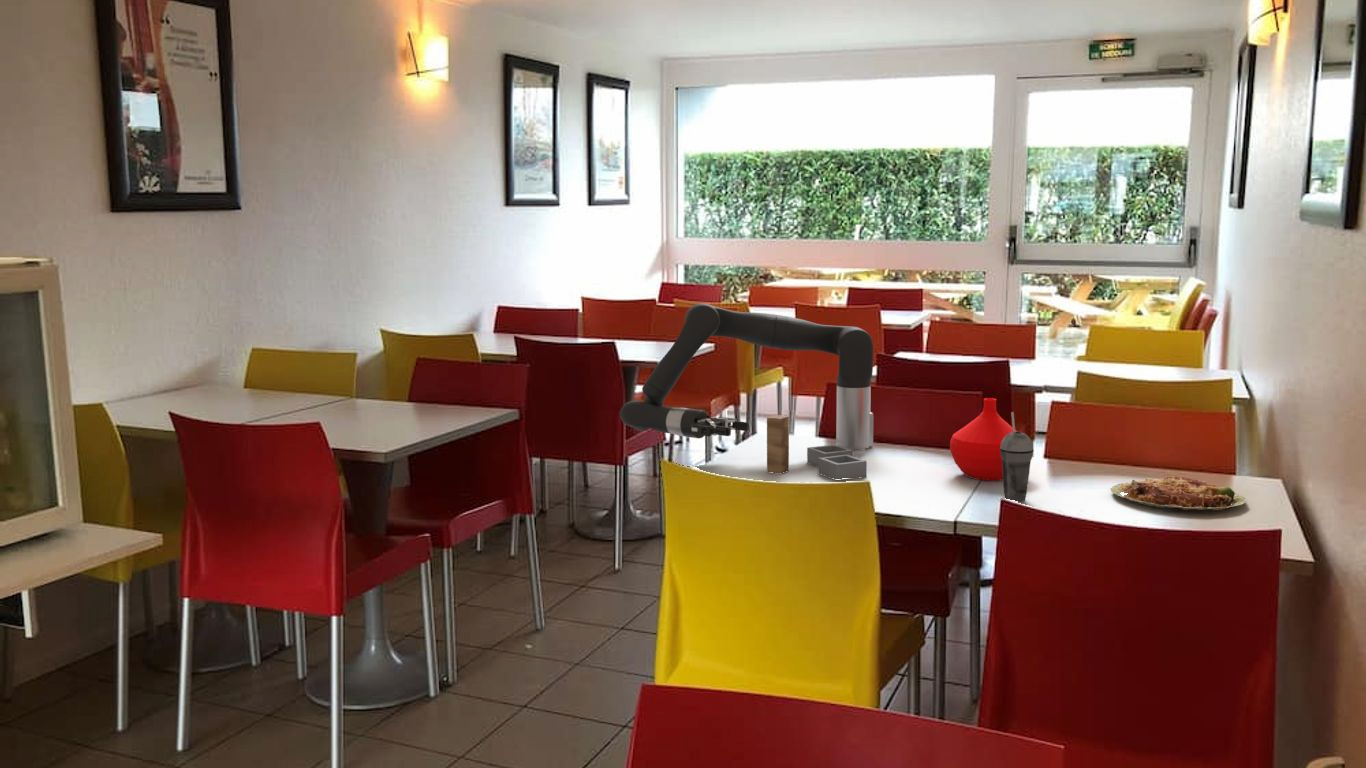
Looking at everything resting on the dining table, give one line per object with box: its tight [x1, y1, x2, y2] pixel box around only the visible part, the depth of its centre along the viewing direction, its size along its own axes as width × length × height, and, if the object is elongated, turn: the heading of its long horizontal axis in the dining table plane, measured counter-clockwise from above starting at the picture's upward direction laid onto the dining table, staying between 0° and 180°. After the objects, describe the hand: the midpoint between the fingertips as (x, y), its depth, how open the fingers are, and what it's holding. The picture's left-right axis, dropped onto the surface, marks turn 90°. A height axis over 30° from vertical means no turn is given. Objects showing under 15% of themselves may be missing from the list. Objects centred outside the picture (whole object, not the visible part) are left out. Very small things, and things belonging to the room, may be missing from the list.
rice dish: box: [1110, 475, 1247, 512], centre depth 246 cm, size 28×28×5 cm
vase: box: [949, 397, 1019, 482], centre depth 269 cm, size 18×18×19 cm
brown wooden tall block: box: [766, 414, 790, 474], centre depth 276 cm, size 4×4×14 cm
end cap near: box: [817, 455, 868, 482], centre depth 272 cm, size 8×8×4 cm
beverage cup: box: [1000, 411, 1034, 503], centre depth 246 cm, size 7×7×20 cm
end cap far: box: [806, 444, 854, 468], centre depth 285 cm, size 8×8×4 cm
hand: (739, 429), depth 282 cm, fingers open, 8 cm apart
